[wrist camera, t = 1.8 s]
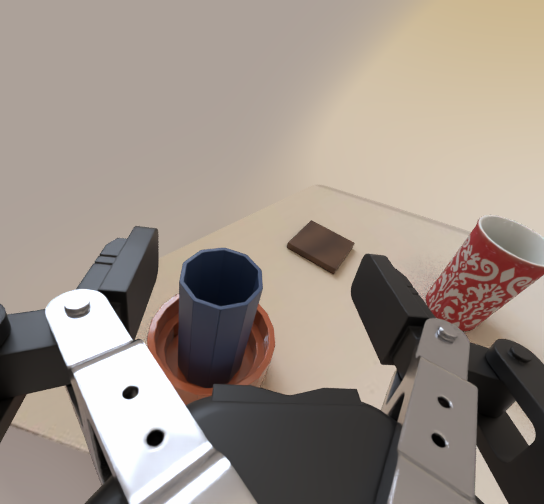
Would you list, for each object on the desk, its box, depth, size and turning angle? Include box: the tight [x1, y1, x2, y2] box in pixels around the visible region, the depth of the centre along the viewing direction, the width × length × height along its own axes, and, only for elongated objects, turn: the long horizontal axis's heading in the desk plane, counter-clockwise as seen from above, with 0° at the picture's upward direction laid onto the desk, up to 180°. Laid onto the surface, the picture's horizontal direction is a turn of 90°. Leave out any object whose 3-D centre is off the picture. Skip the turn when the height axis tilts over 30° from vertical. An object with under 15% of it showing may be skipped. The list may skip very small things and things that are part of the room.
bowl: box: [147, 294, 275, 405], centre depth 30 cm, size 11×11×5 cm
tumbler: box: [178, 248, 263, 388], centre depth 27 cm, size 6×6×12 cm
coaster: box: [287, 220, 355, 274], centre depth 49 cm, size 8×8×1 cm
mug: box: [426, 215, 544, 331], centre depth 41 cm, size 13×9×14 cm
